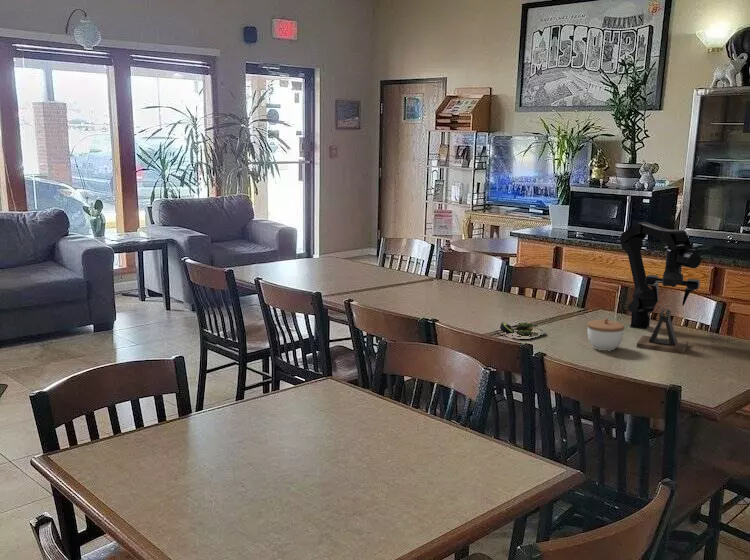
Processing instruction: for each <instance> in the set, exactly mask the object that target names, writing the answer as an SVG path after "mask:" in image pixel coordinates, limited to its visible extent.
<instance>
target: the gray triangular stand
mask: <svg viewBox="0 0 750 560" xmlns="http://www.w3.org/2000/svg"><path fill="white" fill-rule="evenodd" d="M665 310H666V311H665ZM664 312H665V314H666V315H664ZM671 313H672V312H671V310H670V308H667V309H666V308H663V309H662V311H660V314H659V320H658V323H657V324H656V326H655V328H654V330H653V332H652V333H651V335H650V336H651V338H650V340H649V343H656V344H663V345H671V346H675V344H676V342H677V340H678V339H677V338H678V337H677V336H676V333H675V329H674V326H673V322H672V319H671ZM663 322H664V323H665V326H666V331H667V332H666V333H667V336H668V339H669V340H666V339H658V338H657V337H658V335H659V332H660V330H661V327H662V324H663Z"/></svg>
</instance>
